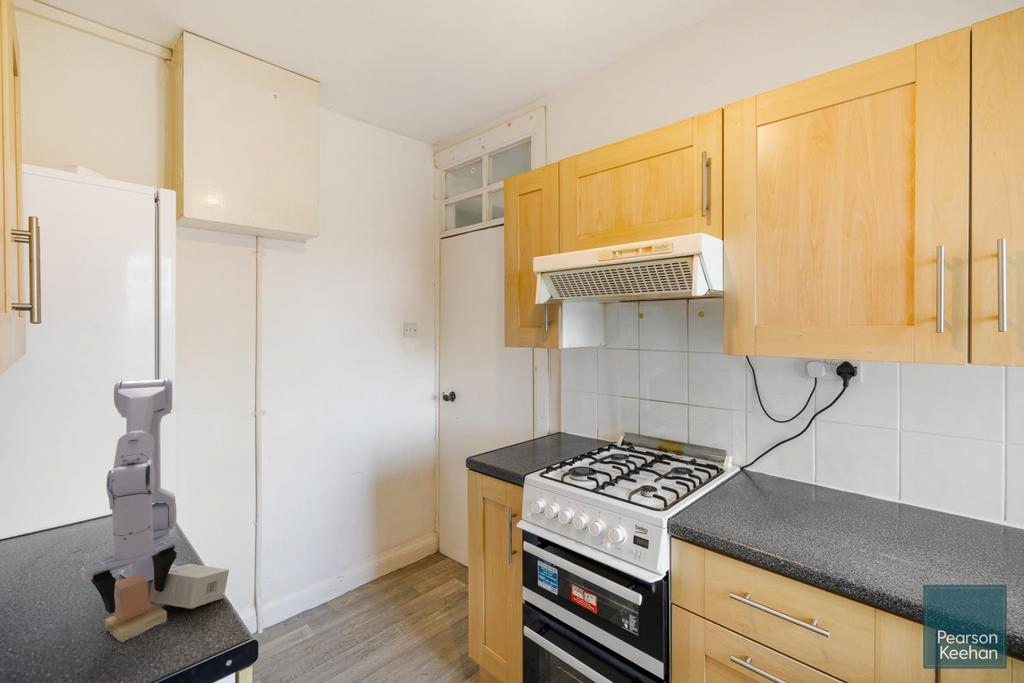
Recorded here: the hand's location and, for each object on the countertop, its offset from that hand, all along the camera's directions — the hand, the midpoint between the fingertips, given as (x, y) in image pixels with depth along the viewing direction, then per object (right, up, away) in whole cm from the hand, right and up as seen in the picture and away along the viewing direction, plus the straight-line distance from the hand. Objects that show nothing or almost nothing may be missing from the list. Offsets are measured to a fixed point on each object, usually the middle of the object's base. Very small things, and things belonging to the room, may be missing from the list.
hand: (135, 600), depth 86 cm
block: (-2, -3, +1) cm, 3 cm away
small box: (+10, -1, +6) cm, 12 cm away
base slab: (0, -5, 0) cm, 5 cm away
